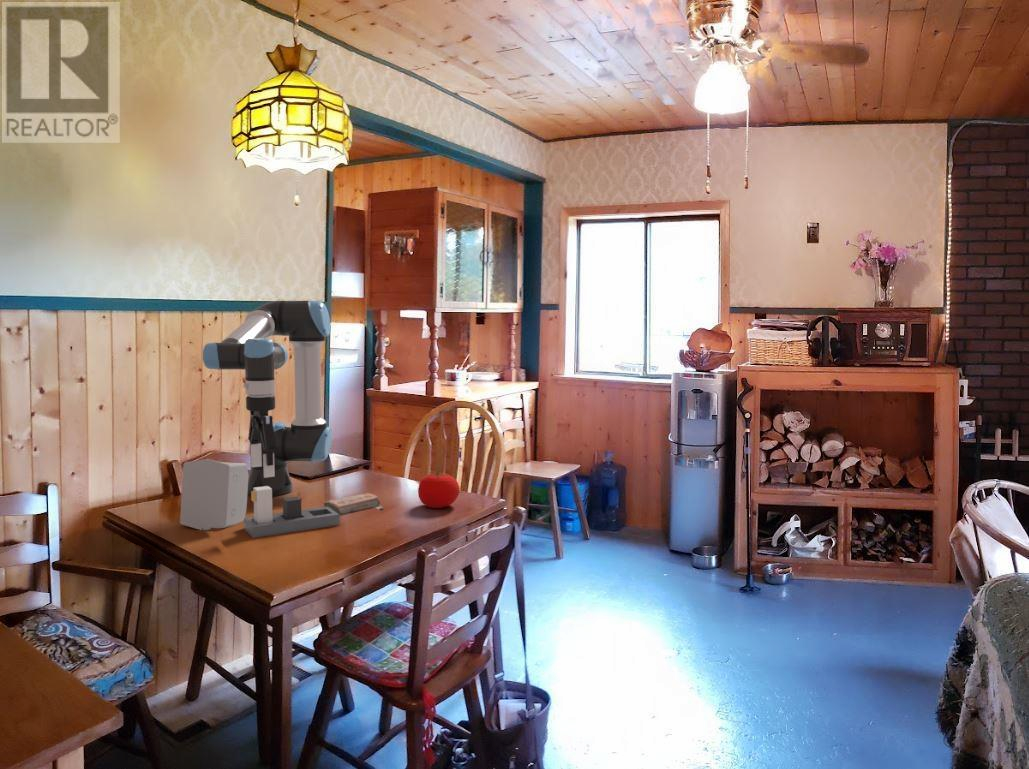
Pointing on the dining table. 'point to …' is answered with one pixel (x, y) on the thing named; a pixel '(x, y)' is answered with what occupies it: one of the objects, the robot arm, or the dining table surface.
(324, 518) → the socket strip
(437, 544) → the dining table surface
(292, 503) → the dark grey block
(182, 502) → the electrical switch box
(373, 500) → the packaged product
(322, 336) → the robot arm
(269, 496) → the plug
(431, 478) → the tomato
